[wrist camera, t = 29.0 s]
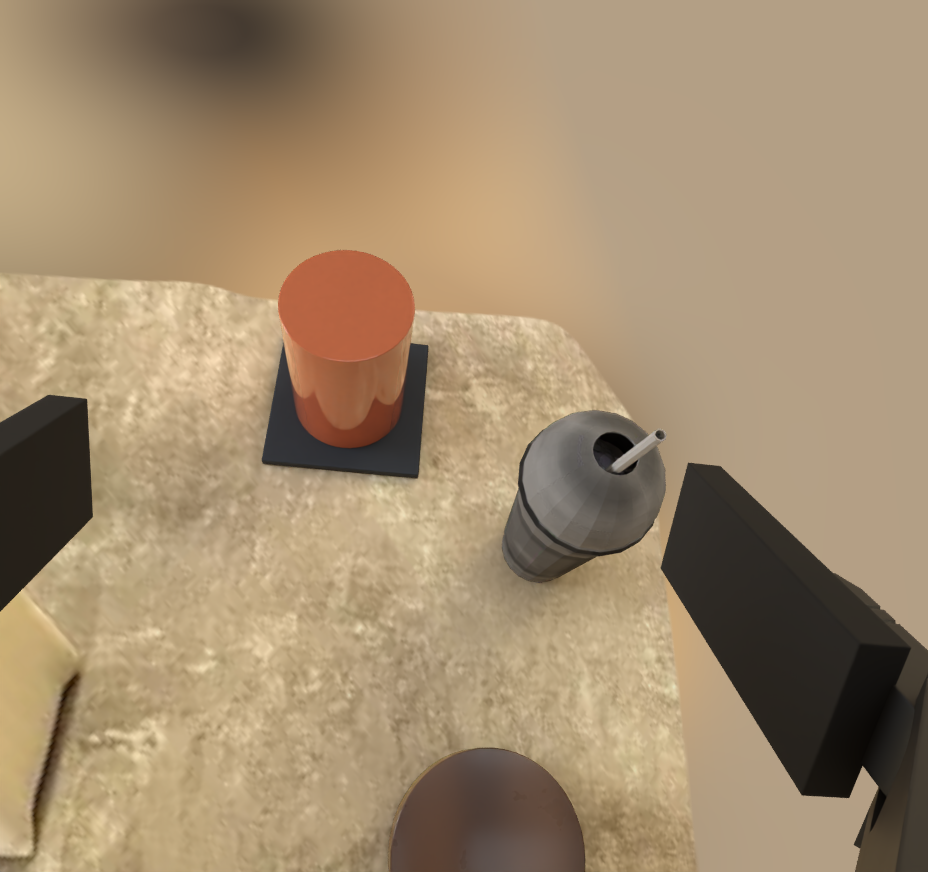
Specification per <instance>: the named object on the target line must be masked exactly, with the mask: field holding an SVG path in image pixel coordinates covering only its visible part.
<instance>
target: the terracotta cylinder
mask: <svg viewBox="0 0 928 872" xmlns="http://www.w3.org/2000/svg"><path fill="white" fill-rule="evenodd" d="M278 312H279V318H280V324H281V330H282V335H283V341H284V347H285V353H286V358H287V364H288V370H289V376H290V381H291V387H292V393H293V399H294V404H295V409H296V413H297V416H298V419H299V420H300V422H301V424H302V425H303V427H304V428H305V429H306V430H307V431H308V432H309V433H310V434H311V435H312V436H313V437H315V438H316V439H318V440H320V441H321V442H323V443H326V444H328V445H331V446H335V447H340V448H358V447H363V446H367V445H370V444H372V443H374V442H376V441H378V440H380V439H382V438H383V437H384V436H386V435H387V434H388V433H389V432H390V431H391V430H392V429H393V428H394V426H395V425H396V423H397V422H398V419H399V417H400V415H401V412H402V406H403V399H404V392H405V384H406V376H407V369H408V361H409V353H410V345H411V338H412V330H413V322H414V315H415V303H414V297H413V294H412V291H411V289H410V287H409V284H408V283H407V281H406V280H405V278H404V277H403V276H402V275H401V273H400V272H399V271H398V270H396V269H395V268H394V267H393V266H392V265H390V264H389V263H387V262H386V261H384V260H382V259H380V258H378V257H376V256H373V255H371V254H367V253H364V252H358V251H350V250H337V251H330V252H325V253H322V254H319V255H316V256H313V257H311V258H310V259H307V260H305V261H304V262H302V263H301V264H299V265H298V266H297V267H296V268H295V269H294V270H293V271H292V272H291V273H290V274H289V275H288V277H287V278H286V280H285V282H284V283H283V285H282V287H281V290H280V294H279V299H278Z"/></svg>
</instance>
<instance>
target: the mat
mask: <svg viewBox="0 0 928 872" xmlns="http://www.w3.org/2000/svg"><path fill="white" fill-rule="evenodd" d="M427 358H428V345H420V344H411V345H410V353H409V361H408V369H407V376H406V384H405V392H404V399H403V406H402V412H401V415H400V417H399V419H398V422H397V423H396V425H395V426H394V428H393V429H392V430H391V431H390V432H389V433H388V434H387V435H386V436H384V437H383V438H382V439H380V440H378V441H376V442H374V443H372V444H370V445H367V446H363V447H358V448H340V447H335V446H331V445H328V444H326V443H323V442H321V441H320V440H318V439H316V438H315V437H313V436H312V435H311V434H310V433H309V432H308V431H307V430H306V429H305V428H304V427H303V425H302V424H301V422H300V420H299V419H298V416H297V413H296V409H295V404H294V399H293V393H292V387H291V381H290V376H289V370H288V364H287V358H286V353H285V347H284V343H283V348H282V353H281V359H280V364H279V370H278V375H277V381H276V386H275V391H274V397H273V402H272V408H271V413H270V419H269V424H268V429H267V435H266V440H265V446H264V451H263V456H262V462H263V464H272V465H283V466H293V467H304V468H315V469H325V470H336V471H347V472H357V473H368V474H379V475H390V476H400V477H411V478H418V472H419V460H420V447H421V434H422V422H423V409H424V396H425V384H426V371H427Z"/></svg>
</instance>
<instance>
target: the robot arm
mask: <svg viewBox="0 0 928 872" xmlns="http://www.w3.org/2000/svg"><path fill="white" fill-rule="evenodd" d="M92 517H93V511H92V490H91V470H90V449H89V429H88V408H87V399H83V398H74V397H64V396H55V395H47V396H46V397H44V398H42V399H41V400H39V401H37V402H35V403H34V404H32V405H30V406H28V407H27V408H25V409H23V410H21V411H20V412H18V413H16V414H14V415H13V416H11V417H9V418H7V419H6V420H4V421H2V422H0V611H1V610H2V609H3V608H4V607H5V606H6V605H7V604H8V603H9V602H10V601H11V600H12V599H13V598H14V597H15V596H16V595H17V594H18V593H19V592H20V591H21V590H22V589H23V588H24V587H25V586H26V585H27V584H28V583H29V582H30V581H31V580H32V579H33V578H34V577H35V576H36V575H37V574H38V573H39V572H40V571H41V569H42V568H43V567H44V566H45V565H46V564H47V563H48V562H49V561H50V560H51V559H52V558H53V557H54V556H55V555H56V554H57V553H58V552H59V551H60V550H61V549H62V548H63V547H64V546H65V545H66V544H67V543H68V542H69V541H70V540H71V539H72V538H73V537H74V536H75V535H76V534H77V533H78V532H79V531H80V530H81V529H82V528H83V527H84V526H85V524H86V523H87V522H88V521H89V520H90V519H91V518H92ZM661 569H662V571H663V573H664V574H665V576H666V577H667V579H668V581H669V582H670V584H671V585H672V587H673V589H674V590H675V592H676V594H677V595H678V597H679V598H680V600H681V602H682V603H683V605H684V606H685V608H686V610H687V611H688V613H689V614H690V616H691V618H692V619H693V621H694V623H695V624H696V626H697V627H698V629H699V630H700V632H701V634H702V635H703V637H704V638H705V640H706V642H707V643H708V645H709V647H710V648H711V650H712V652H713V653H714V655H715V656H716V658H717V659H718V661H719V663H720V664H721V666H722V668H723V669H724V671H725V672H726V674H727V675H728V677H729V679H730V680H731V682H732V684H733V685H734V687H735V688H736V690H737V691H738V693H739V695H740V697H741V698H742V700H743V701H744V703H745V705H746V706H747V708H748V709H749V711H750V713H751V714H752V716H753V717H754V719H755V721H756V722H757V724H758V725H759V727H760V729H761V730H762V732H763V733H764V735H765V737H766V738H767V740H768V742H769V743H770V745H771V746H772V748H773V750H774V751H775V753H776V754H777V756H778V758H779V759H780V761H781V763H782V764H783V766H784V767H785V769H786V771H787V772H788V774H789V775H790V777H791V779H792V780H793V782H794V783H795V785H796V787H797V788H798V790H799V791H800V793H801V795H806V796H823V797H840V798H849V797H850V795H851V792H852V790H853V787H854V785H855V782H856V780H857V778H858V775H859V773H860V770H861V768H862V766H863V767H864V768H865V769H866V771H867V772H868V773H869V775H870V776H871V777H872V779H873V780H874V781H875V782H876V784H877V785H878V786H879V787H878V790H877V792H876V794H875V797H874V799H873V801H872V803H871V806H870V808H869V810H868V813H867V815H866V818H865V820H864V822H863V824H862V827H861V829H860V832H859V834H858V836H857V838H856V841H855V843H854V845H855V846H857V847H858V848H860V853H859V857H858V861H857V865H856V870H855V872H928V650H927V649H926V648H925V647H924V646H922V645H921V644H920V643H919V642H918V641H917V640H916V639H915V638H914V637H913V636H912V635H911V634H909V633H908V632H907V631H906V630H905V629H904V628H903V627H902V626H901V625H900V624H896V623H895V620H894V619H893V618H892V617H891V616H890V615H889V614H888V613H886V611H885V610H880V606H879V605H878V604H877V603H876V602H875V601H873V599H871V597H869V596H868V595H867V594H866V593H865V592H864V591H863V590H862V589H860V588H859V587H857V586H855V585H854V584H852V583H850V582H848V581H847V580H845V579H844V578H842V577H840V576H839V575H837V574H835V573H832V572H831V571H830V570H829V569H828V568H827V567H826V566H825V565H824V564H823V563H822V562H821V561H820V560H818V559H817V558H816V557H815V556H814V555H813V554H812V553H811V552H810V551H809V550H808V549H807V548H806V547H805V546H804V545H803V544H802V543H801V542H799V541H798V540H797V539H796V538H795V537H794V536H793V535H792V534H791V533H790V532H789V531H788V530H787V529H786V528H785V527H784V526H783V525H781V523H780V522H778V521H777V520H776V519H775V518H774V517H773V516H772V515H771V514H770V513H769V512H768V511H767V510H766V509H765V508H764V507H763V506H762V505H761V504H759V503H758V502H757V501H756V500H755V499H754V498H753V497H752V496H751V495H750V494H749V493H748V492H747V491H746V490H745V489H744V488H743V487H741V485H739V484H738V483H737V482H736V481H735V480H734V479H733V478H732V477H731V476H730V475H729V474H728V473H727V472H726V471H725V470H723V468H722V467H721V466H714V465H704V464H694V463H688V466H687V469H686V473H685V477H684V481H683V485H682V488H681V492H680V496H679V500H678V504H677V507H676V511H675V515H674V519H673V523H672V527H671V531H670V535H669V538H668V542H667V546H666V550H665V554H664V557H663V561H662V565H661Z"/></svg>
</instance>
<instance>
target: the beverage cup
mask: <svg viewBox="0 0 928 872" xmlns="http://www.w3.org/2000/svg"><path fill="white" fill-rule="evenodd" d="M665 438H666V433H665V431H664V430H662V429H657V430H655V431H654V432H653V433H651V434H650V435H648V433H646V432H645V431H644V430H643V429H642V428H641V427H639V426H638V425H637V424H636V423H635V422H633V421H631V420H629V419H627V418H625V417H623V416H621V415H618V414H616V413H610V412H604V411H598V410H591V411H584V412H576V413H572V414H570V415H568V416H566V417H564V418H562V419H559V420H557V421H555V422H554V423H552V424H551V425H549V426H548V427H547V428H546V429H544V430H542V431H541V432H540V433H539V434H538V435H537V436H536V437H535V438H534V439H533V440H532V441H531V442H530V443H529V444H528V446H527V448H526V451H525V453H524V455H523V457H522V459H521V462H520V466H519V479H518V486H519V489H518V492H517V495H516V498H515V501H514V504H513V506H512V509H511V512H510V515H509V518H508V521H507V524H506V527H505V531H504V536H503V543H502V550H503V554H504V558H505V560H506V562H507V564H508V565H509V567H510V568H511V569H512V570H513V571H514V572H515V573H516V574H517V575H518V576H520V577H522V578H524V579H526V580H528V581H534V582H544V581H550V580H552V579H553V578H558V577H560V576H562V575H563V574H565V573H567V572H569V571H571V570H573V569H575V568H576V567H578V566H580V565H582V564H584V563H586V562H588V561H589V560H591V559H593V558H595V557H597V556H604V555H609V554H615V553H621V552H623V551H624V550H626V549H628V548H630V547H631V546H633V545H635V544H637V543H638V542H640V541H641V539H642V538H643V537H644V536H645V534H646V533H647V532H648V531H649V529H650V528H651V527H652V526H653V523H654V520H655V519H656V517H657V515H658V513H659V511H660V508H661V504H662V502H663V498H664V495H665V490H666V484H665V483H666V482H665V467H664V464H663V461H662V459H661V456H660V453H659V450H658V448H657V445H658V444H660V443H661V442H662V441H664V440H665Z"/></svg>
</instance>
